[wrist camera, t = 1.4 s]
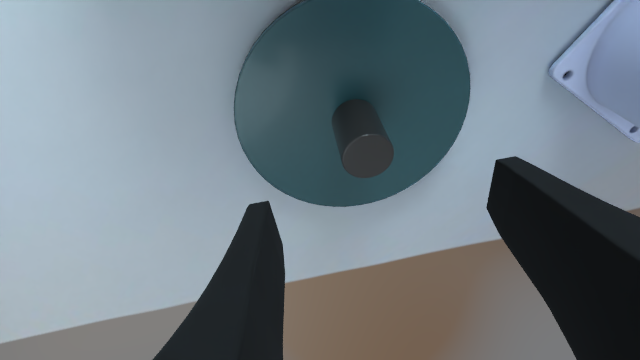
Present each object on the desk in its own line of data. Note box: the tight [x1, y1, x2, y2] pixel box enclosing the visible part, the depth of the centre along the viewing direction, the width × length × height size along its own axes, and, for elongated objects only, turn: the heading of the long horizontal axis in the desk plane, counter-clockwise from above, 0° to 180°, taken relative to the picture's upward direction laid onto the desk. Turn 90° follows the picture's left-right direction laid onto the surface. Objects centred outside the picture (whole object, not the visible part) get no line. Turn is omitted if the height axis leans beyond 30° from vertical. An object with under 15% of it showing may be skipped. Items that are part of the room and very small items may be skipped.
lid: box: [234, 0, 470, 207], centre depth 18 cm, size 12×12×5 cm
